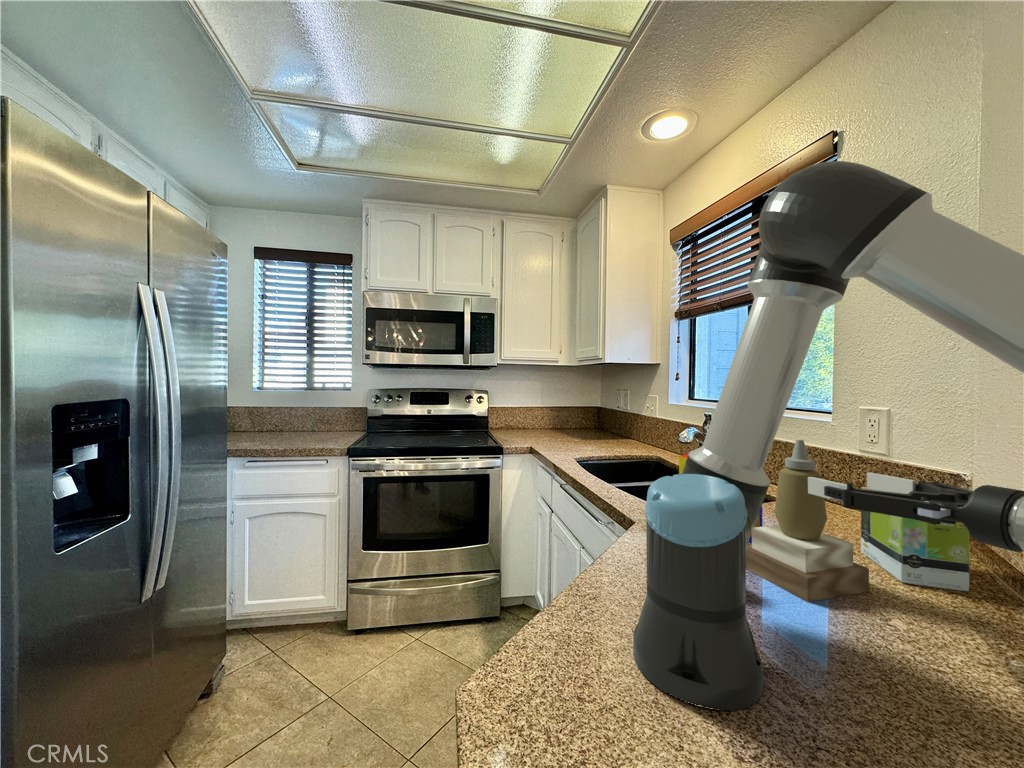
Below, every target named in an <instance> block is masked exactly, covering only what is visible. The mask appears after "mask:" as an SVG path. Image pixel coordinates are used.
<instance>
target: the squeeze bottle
mask: <svg viewBox="0 0 1024 768" xmlns="http://www.w3.org/2000/svg"><path fill="white" fill-rule="evenodd" d="M784 467H785V468H782V469H781V470H779V472H778V477H777V478H778V479H777V488H776V497H775V504H774V514H775V518H776V520H777V523H778V525H779V526H780V529H781V531H782V532H783V533H784V534H786V535H788V536H791V537H794V538H799V539H805V540H817V539H819V538H820V535H821V533H823V531H824V528H825V526H826V523H827V521H828V517H827V516H828V515H827V508H826V501H825V499H826V498H824V497H820V496H817V495H813V494H809V493H808V477H814V478H819V479H823V478H822V477H823V476H822V475H821V473H819V472H817V471H816V460H814V459H811V458H809V456H808V451H807V448H806V445H805V441H804V440H803V439H795V443H794V446H793V451H792V454H791V457H785V459H784Z"/></svg>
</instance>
